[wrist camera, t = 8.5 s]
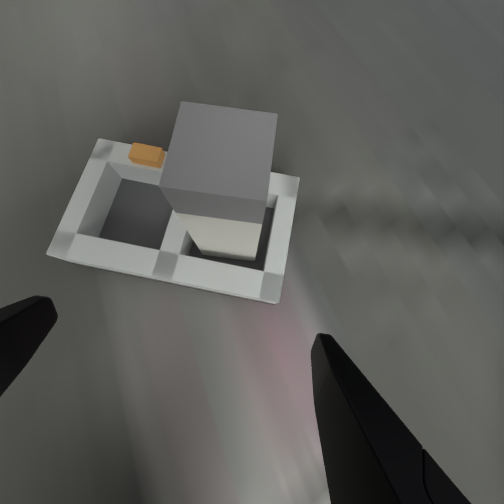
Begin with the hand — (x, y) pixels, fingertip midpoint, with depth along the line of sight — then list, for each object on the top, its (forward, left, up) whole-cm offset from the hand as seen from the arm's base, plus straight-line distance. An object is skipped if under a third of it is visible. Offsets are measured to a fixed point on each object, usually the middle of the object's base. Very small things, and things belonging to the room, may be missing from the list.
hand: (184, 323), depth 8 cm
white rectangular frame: (+7, +5, -12) cm, 15 cm away
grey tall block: (+7, +1, -11) cm, 14 cm away
